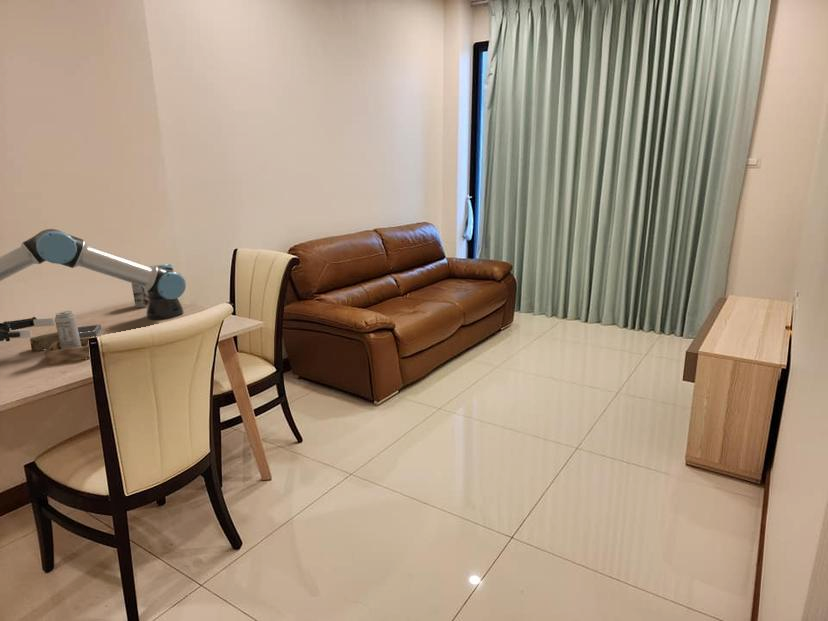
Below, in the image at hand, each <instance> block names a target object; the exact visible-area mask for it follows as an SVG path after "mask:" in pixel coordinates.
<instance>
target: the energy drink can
mask: <svg viewBox="0 0 828 621" xmlns="http://www.w3.org/2000/svg"><path fill="white" fill-rule="evenodd" d="M55 315H56V316H55V318H54V323H55V326H56V330H57V331H56V332H58V336H59V340H60V345H61V349H68V348H76V347H82V346H81V342H80V337H79V332H78V327H79V326H78V324H77V319H76V315H75V314H74V313H73V311H72V310H65V311H59V312H57V313H55Z"/></svg>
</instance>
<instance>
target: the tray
mask: <svg viewBox="0 0 828 621" xmlns="http://www.w3.org/2000/svg"><path fill="white" fill-rule="evenodd" d="M77 327H78V332H79V337H80V338H85V337H93V336H97V337H98V336H99V335H100V333H101V332H100V330H101V329H102V325H101V323H100V324H90V325H84V326H77ZM93 330H94V331H93ZM88 331H90V332H88ZM101 331H102V330H101ZM80 332H82V333H80ZM99 332H100V333H99ZM97 334H99V335H97Z"/></svg>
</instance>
